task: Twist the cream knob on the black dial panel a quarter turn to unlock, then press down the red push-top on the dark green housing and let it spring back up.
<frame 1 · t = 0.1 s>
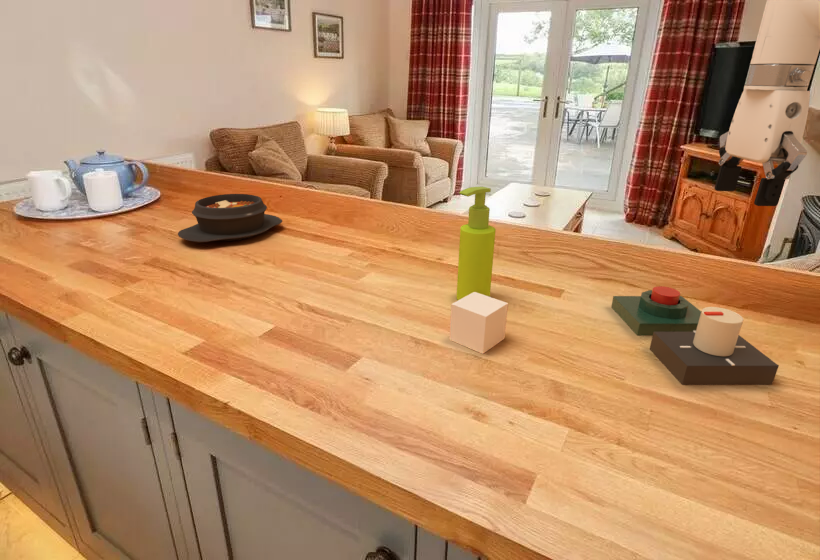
hand: (743, 197, 76), 20 cm above the counter, tool pointing down, fingers open, 9 cm apart
lock knob: (717, 330, 66), point 6 cm above the counter, hinge at 0.0°
pale pink cube: (477, 340, 74), on the counter
press top: (665, 296, 79), point 4 cm above the counter, slide at 0.1 cm
button base: (659, 320, 81), on the counter
casserole: (233, 235, 120), on the counter
soap dispenser: (470, 300, 87), on the counter
dial panel: (707, 366, 68), on the counter
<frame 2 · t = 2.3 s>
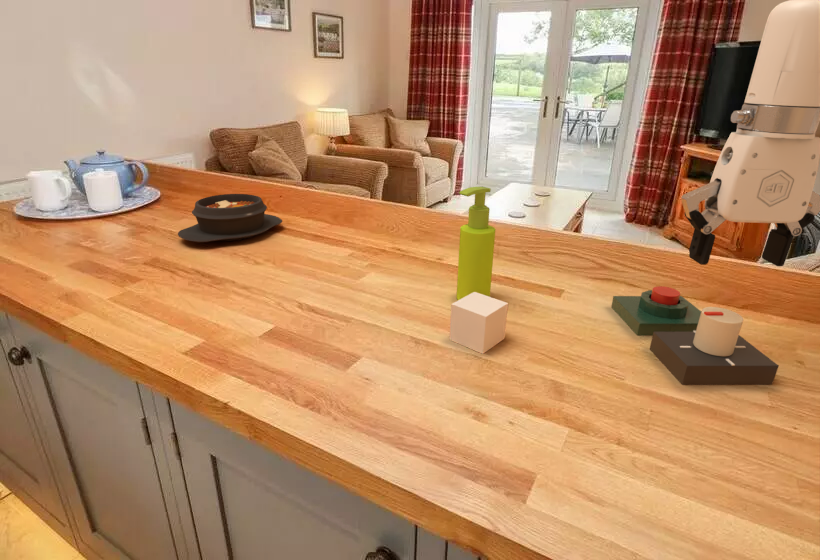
hand: (734, 261, 63), 15 cm above the counter, tool pointing down, fingers open, 9 cm apart
nothing on the counter moved.
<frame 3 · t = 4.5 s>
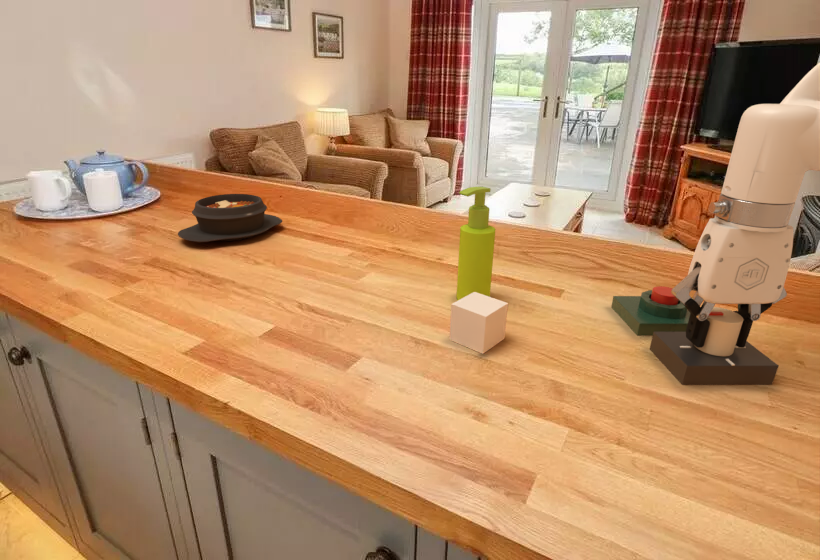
hand: (714, 341, 67), 4 cm above the counter, tool pointing down, fingers closed on lock knob, 4 cm apart
lock knob: (717, 330, 66), point 6 cm above the counter, hinge at 0.0°, touching gripper
everything else where it was.
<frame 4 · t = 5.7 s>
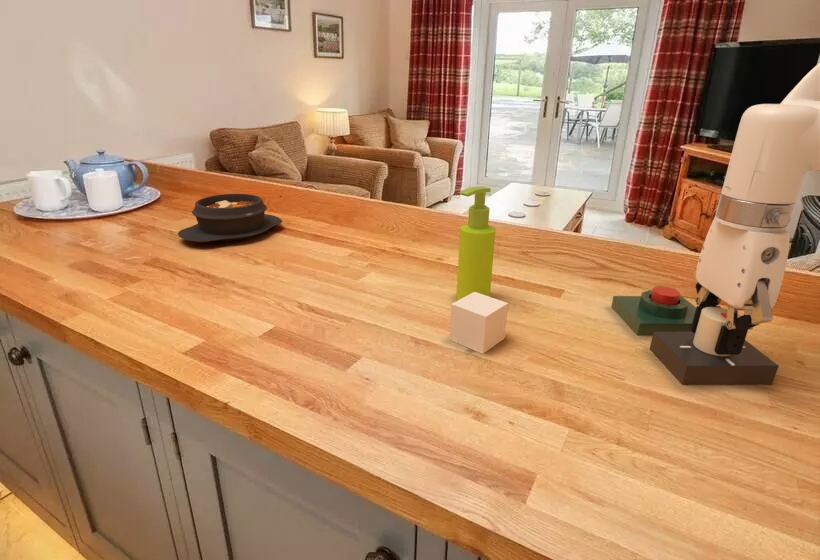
hand: (714, 341, 67), 4 cm above the counter, tool pointing down, fingers closed on lock knob, 4 cm apart
lock knob: (717, 330, 66), point 6 cm above the counter, hinge at 90.4°, touching gripper
everything else where it was.
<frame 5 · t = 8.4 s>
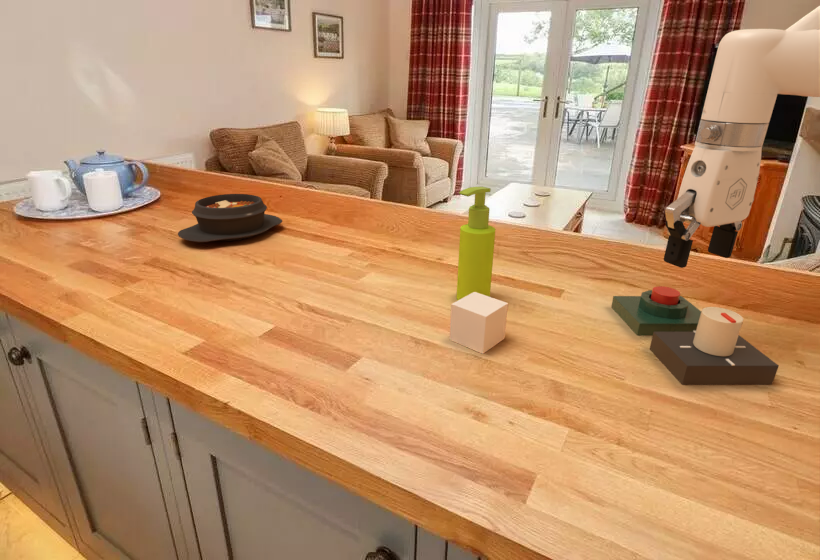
hand: (697, 259, 70), 13 cm above the counter, tool pointing down, fingers open, 9 cm apart
lock knob: (717, 330, 66), point 6 cm above the counter, hinge at 90.6°
everything else where it was.
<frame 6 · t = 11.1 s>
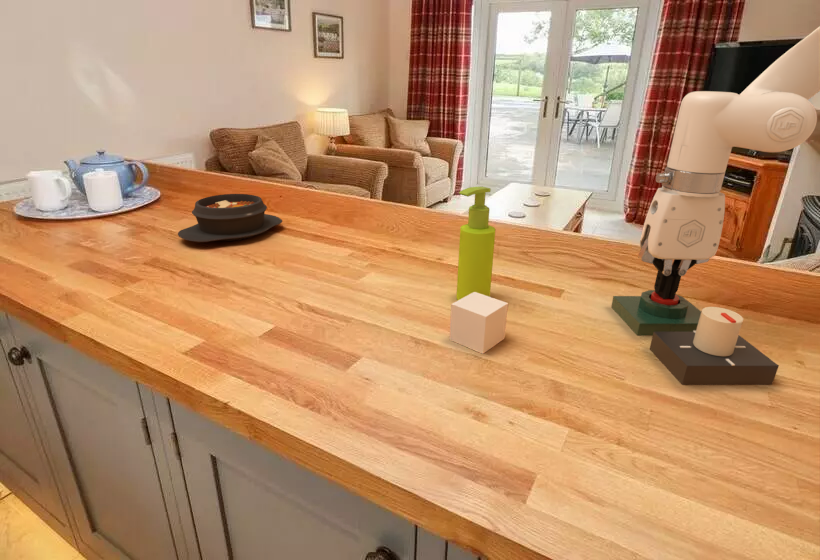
hand: (664, 295, 79), 5 cm above the counter, tool pointing down, fingers closed
press top: (664, 300, 79), point 4 cm above the counter, slide at -0.7 cm, touching gripper
everything else where it was.
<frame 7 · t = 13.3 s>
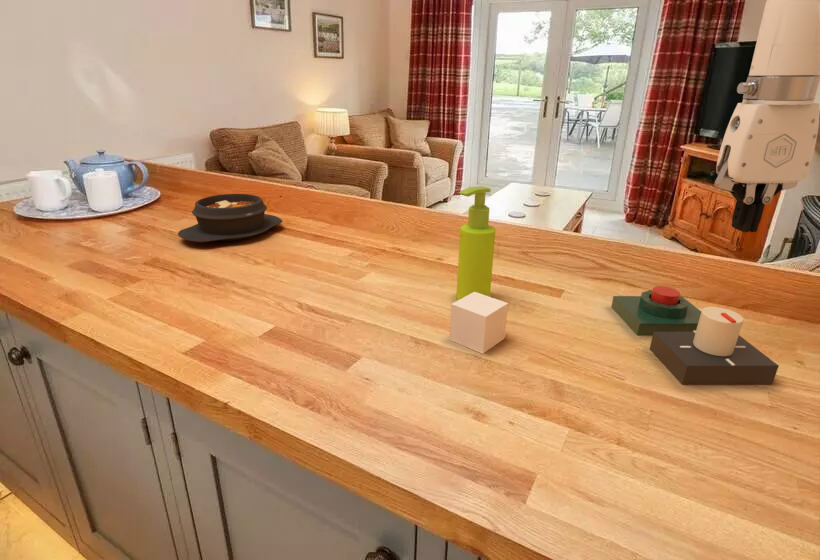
hand: (743, 229, 70), 17 cm above the counter, tool pointing down, fingers closed
press top: (665, 296, 79), point 4 cm above the counter, slide at 0.1 cm
everything else where it was.
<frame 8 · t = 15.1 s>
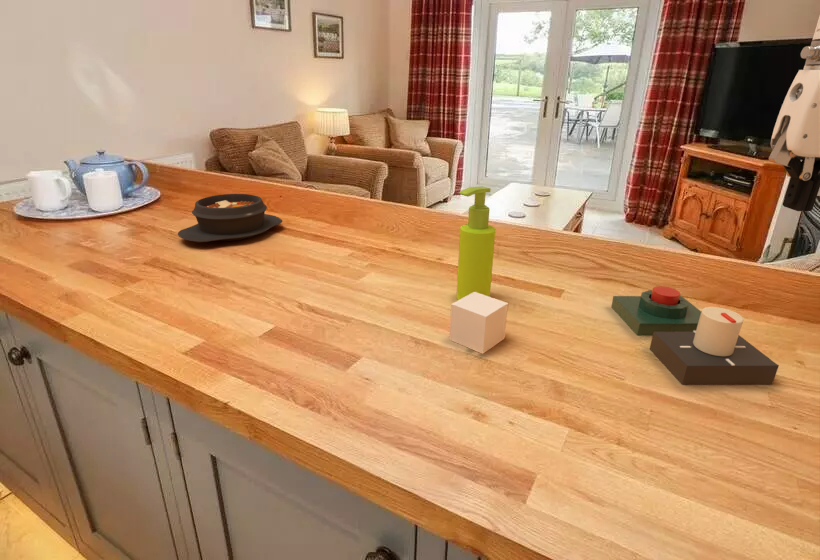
hand: (796, 208, 65), 21 cm above the counter, tool pointing down, fingers closed
nothing on the counter moved.
at the end: lock knob at +91° (first picture: +0°); press top pushed in 1.1 cm at the most during the clip, back to where it started at the end; press top slide at 0.1 cm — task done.
